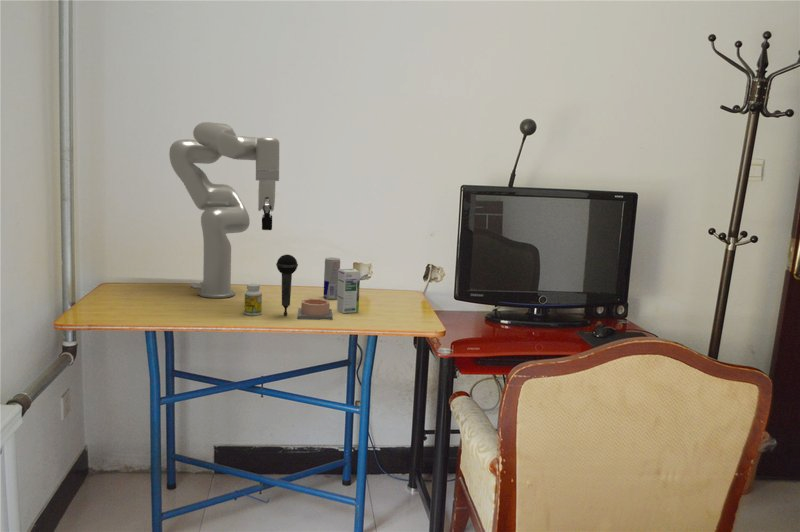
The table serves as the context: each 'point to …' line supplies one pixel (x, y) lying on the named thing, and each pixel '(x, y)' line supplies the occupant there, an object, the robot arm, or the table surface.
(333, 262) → the beverage can
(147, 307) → the table surface
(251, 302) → the supplement bottle
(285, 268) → the microphone
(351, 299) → the syrup box
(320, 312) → the terracotta bowl
